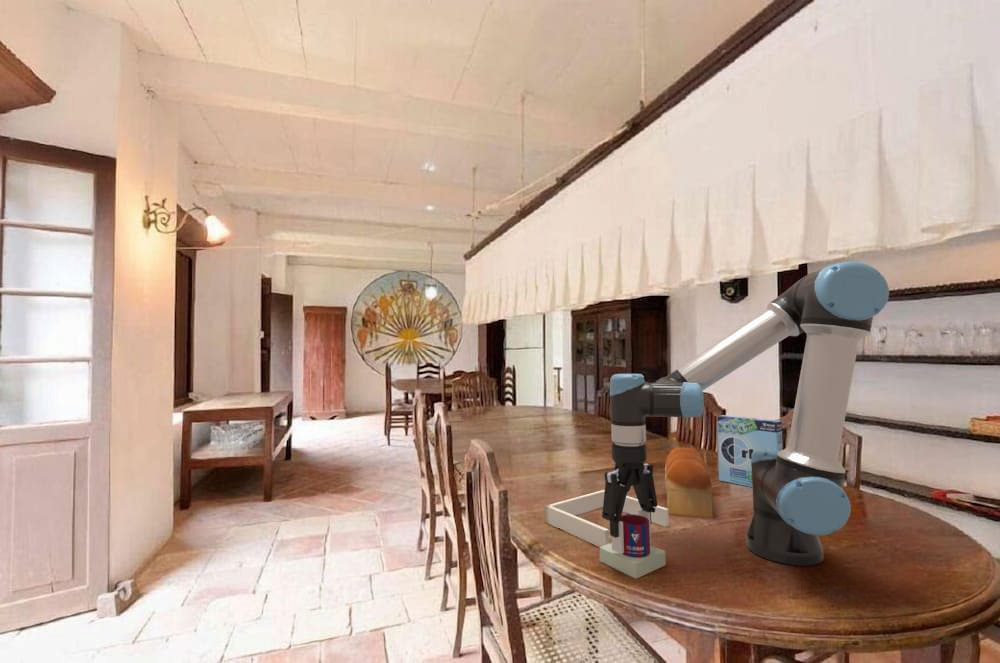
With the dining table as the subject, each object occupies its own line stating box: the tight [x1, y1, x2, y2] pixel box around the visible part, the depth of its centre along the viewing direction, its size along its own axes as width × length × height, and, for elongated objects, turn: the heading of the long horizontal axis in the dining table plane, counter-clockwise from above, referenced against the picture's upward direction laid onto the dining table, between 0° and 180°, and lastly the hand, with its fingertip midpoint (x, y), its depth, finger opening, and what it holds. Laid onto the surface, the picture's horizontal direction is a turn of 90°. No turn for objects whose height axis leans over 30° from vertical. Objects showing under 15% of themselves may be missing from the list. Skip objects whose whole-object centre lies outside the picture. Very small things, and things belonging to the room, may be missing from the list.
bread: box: [664, 446, 714, 519], centre depth 140 cm, size 25×12×15 cm, turn 160°
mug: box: [620, 513, 651, 557], centre depth 102 cm, size 7×10×7 cm
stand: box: [598, 542, 667, 579], centre depth 101 cm, size 10×10×3 cm
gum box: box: [716, 414, 784, 488], centre depth 156 cm, size 20×5×23 cm, turn 39°
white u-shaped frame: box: [544, 489, 670, 548], centre depth 124 cm, size 22×24×4 cm
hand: (631, 545), depth 101 cm, fingers open, 8 cm apart
